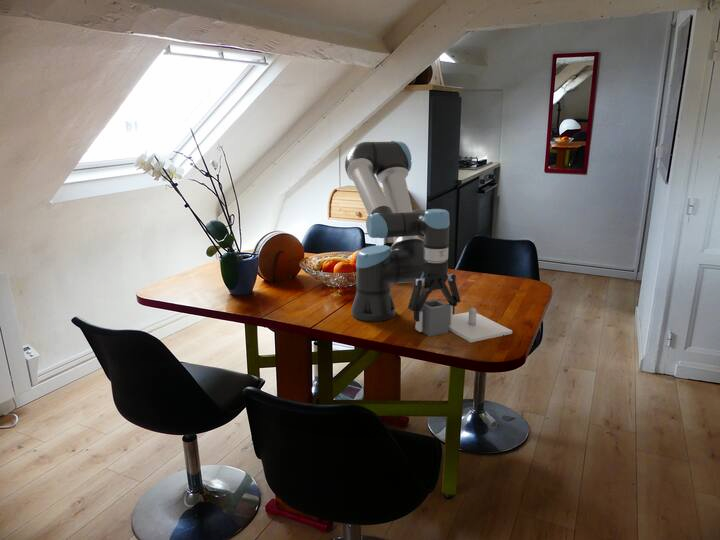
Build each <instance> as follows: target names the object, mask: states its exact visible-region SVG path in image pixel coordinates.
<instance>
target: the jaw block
mask: <svg viewBox="0 0 720 540" xmlns="http://www.w3.org/2000/svg"><path fill="white" fill-rule="evenodd" d="M447 304H448V303H445V302H443V301H441V300H439V299H430V300H426V301H425V303H424V305H423V307H422V308H421V310H420V311H422V333H423V334H425V335H426V336H428V337H433V336H440V335H444V334H447V333H449V330H448V327H449V305H447Z"/></svg>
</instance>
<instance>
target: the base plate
mask: <svg viewBox="0 0 720 540" xmlns="http://www.w3.org/2000/svg"><path fill="white" fill-rule="evenodd" d="M448 331H450V332H451V333H453V334H455V335H457V336H459V337H460V338H462V339H464V340H465V341H467V342H468V343H470V344H471V343H475V342H479V341H483V340H484V341H485V340H490V339H494V338H499V337H503V335H504V336H508V335H512V334H513V330H512V329H510V328H508V327H506V326H504V325H501V324H499V323H498V322H496V321H493V320H492V319H490V318H488V317H486V316H483V315H481V314H480V313H479V312H478V311H477V309H476V308H475V307H471V308H469V309H468V311H467V312H461V313H457V314H456V313H454V314H453V318H452V326H450V325H449V327H448Z"/></svg>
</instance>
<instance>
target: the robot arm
mask: <svg viewBox="0 0 720 540" xmlns="http://www.w3.org/2000/svg"><path fill="white" fill-rule="evenodd" d="M345 157H346V158H345V161H344V169H345V173H346V175H347V177H348V179H349V180H351V181H352V182H353V184H354V186H355V188H356V190H357V192H358V195H359V197H360V199H361V202H362V203H363V206H364V208H365V210H366V213H367V217H366V221H365V228H366V232H367V233H366V234H367V235H368V237H369V238H371V239H386V238H388V239H389V238H393V245H392V246H391V248H390V247H389V246H386V245H384V244H381V245H379V244H377V245H369V246H366V247H363V248H362V249H360V250H359V251H358V252H357V254H356V260H355V261H356V262H355V269H356V271H355V273H356V278H355V279H356V280H355V281H356V291H355V292H356V293H355V296H354V300H353V302H352V306H351V316H352V317H353V318H354V319H356V320H360V321H364V322H365V321H366V322H383V321H388V320H391V319H392V318H394V317H395V316H396V306H395V303H394V299H393V297H392V294H391V293H392V292H391V285H393V284H405V283H414V284H413V285H414V286H413V289H412V292H411V296H410V299H409V303H408V306H407V308H408V310H409V311H411V312H413V321H415V327H414V328H415V330H416V331H418V332H419V333H421V332H422V311H420V310H421V308H422V307H423V305H424V303H425V301H427V299H428V297H429V296H430V294H431V293H432V292H433V291H436V290H440V291H441V293H442V295H443V296H444V298H445V300H446V301H447V303H446V304H447V305H449V325H450V326H452V318H453V315H455V307H457V306H458V304H459V303H461V297H460V294H459V291H458V285H457V282H456V279H457V277H456V274H453V273H451V272H449V262H448V259H449V243H450V241H449V240H450V224H451V223H450V212H449V211H448V210H446V209H442V208H431V209H426V210H424V209H415V210H413V207H412V203H411V197H410V194H409V189H408V184H407V179H406V178H407V177H408V176H409V172H410V171H411V170H412V169H411V168H412V164H413V163H412V162H413V161H412V154H411V150H410V149H409V146H408V145H407V144H406V143H405V142H403V141H395V140H391V141H362V142H359V143H357V144H355V145H354V146H353V147H352V148H351V149H350V150H349V151H348V153H347V155H346V156H345ZM380 183H381V184H382V188H381V185H380ZM419 236H420V237H419ZM421 237H423V239H422V238H421ZM448 272H449V273H448ZM446 283H448V286H449V288H448V286H447V284H446ZM449 289H450V290H449ZM422 333H423V332H422Z"/></svg>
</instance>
